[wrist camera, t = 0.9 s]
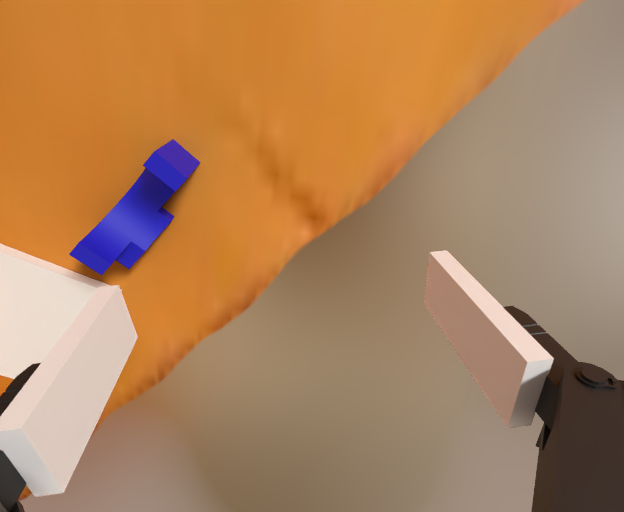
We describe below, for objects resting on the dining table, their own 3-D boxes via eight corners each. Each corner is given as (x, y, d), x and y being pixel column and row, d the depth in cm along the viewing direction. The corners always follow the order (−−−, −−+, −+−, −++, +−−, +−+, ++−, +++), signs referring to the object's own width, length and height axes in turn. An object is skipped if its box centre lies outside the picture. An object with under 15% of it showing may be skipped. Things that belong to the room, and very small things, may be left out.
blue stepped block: (139, 255, 37) (117, 285, 32) (99, 227, 36) (69, 254, 30) (213, 173, 34) (202, 191, 29) (173, 139, 33) (154, 151, 27)
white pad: (-73, 344, 39) (-82, 352, 38) (-50, 224, 34) (-60, 229, 33) (81, 388, 44) (76, 396, 43) (122, 290, 39) (118, 296, 38)
